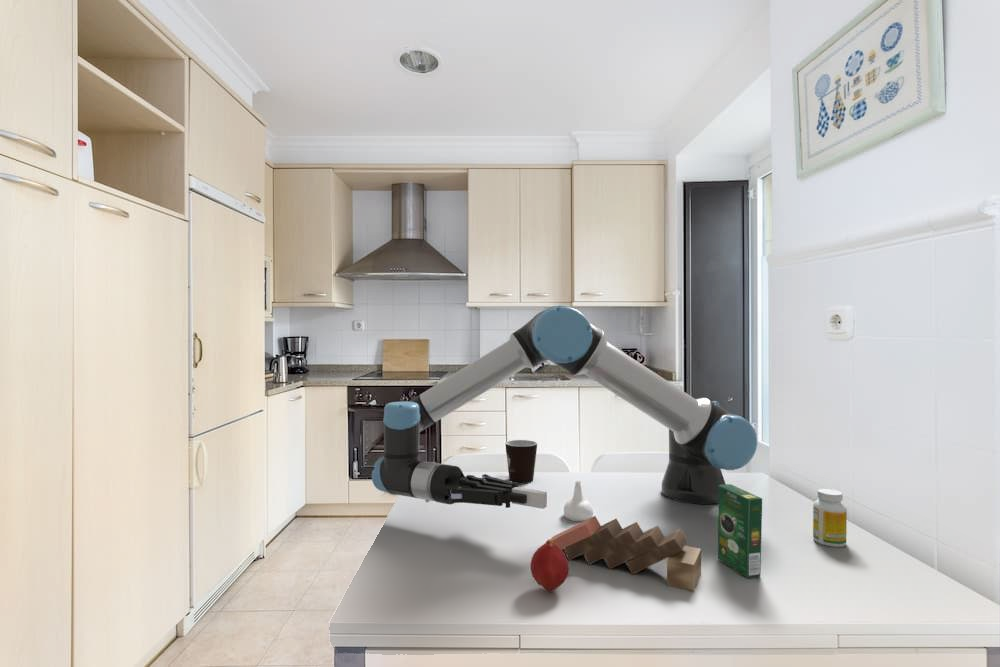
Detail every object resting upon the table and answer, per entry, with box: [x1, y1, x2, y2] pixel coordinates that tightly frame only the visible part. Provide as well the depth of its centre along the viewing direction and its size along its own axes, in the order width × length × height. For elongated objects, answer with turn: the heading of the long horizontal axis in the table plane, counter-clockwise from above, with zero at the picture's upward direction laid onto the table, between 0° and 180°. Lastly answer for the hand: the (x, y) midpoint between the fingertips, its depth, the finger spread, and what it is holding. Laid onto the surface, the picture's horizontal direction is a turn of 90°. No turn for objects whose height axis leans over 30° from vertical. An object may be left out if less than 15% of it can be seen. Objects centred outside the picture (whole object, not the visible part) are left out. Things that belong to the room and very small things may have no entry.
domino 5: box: [625, 528, 688, 575], centre depth 87 cm, size 2×5×10 cm
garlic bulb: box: [563, 480, 594, 522], centre depth 115 cm, size 6×6×8 cm
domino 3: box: [582, 521, 643, 566], centre depth 91 cm, size 2×5×10 cm
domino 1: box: [542, 515, 602, 551], centre depth 95 cm, size 2×5×10 cm
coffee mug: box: [505, 439, 538, 484], centre depth 145 cm, size 12×9×10 cm
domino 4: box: [602, 525, 666, 570], centre depth 89 cm, size 2×5×10 cm
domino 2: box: [563, 518, 623, 561], centre depth 93 cm, size 2×5×10 cm
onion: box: [530, 538, 570, 593], centre depth 81 cm, size 6×6×8 cm
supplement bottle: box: [812, 488, 848, 548], centre depth 101 cm, size 5×5×10 cm
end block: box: [666, 545, 702, 592], centre depth 85 cm, size 4×7×4 cm, turn 151°
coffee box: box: [717, 483, 763, 579], centre depth 89 cm, size 8×3×13 cm, turn 13°
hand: (545, 500), depth 97 cm, fingers closed
